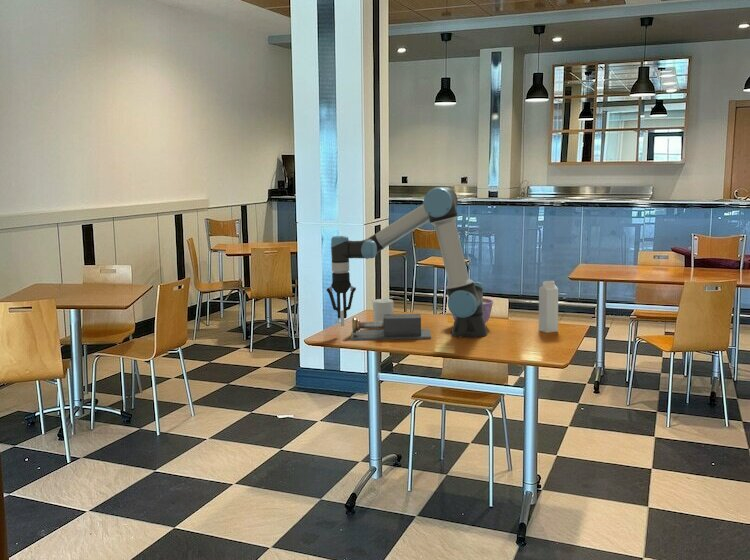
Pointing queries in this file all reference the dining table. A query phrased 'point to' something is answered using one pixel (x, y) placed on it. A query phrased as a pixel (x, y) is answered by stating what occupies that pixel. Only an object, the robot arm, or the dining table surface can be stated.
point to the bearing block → (396, 329)
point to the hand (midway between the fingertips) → (342, 325)
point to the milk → (548, 307)
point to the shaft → (365, 325)
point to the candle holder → (382, 308)
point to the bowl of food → (484, 309)
